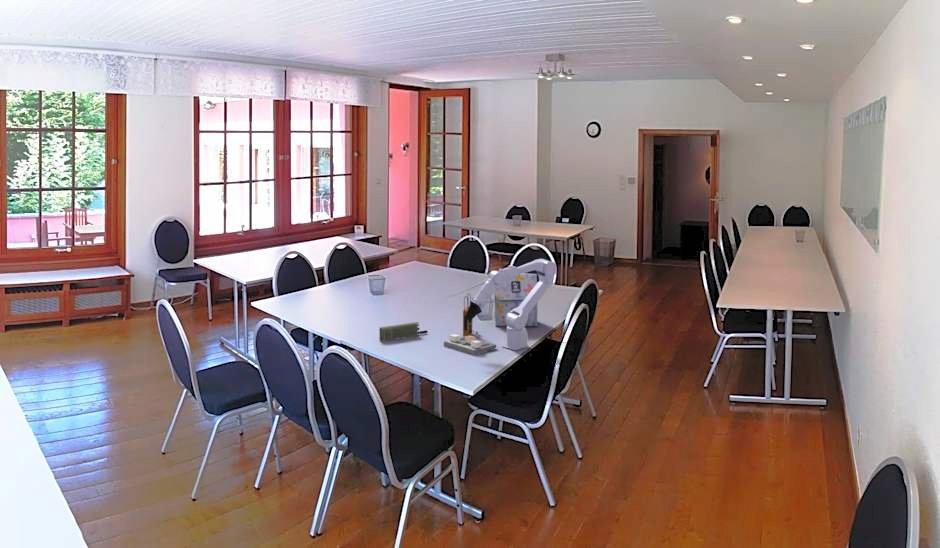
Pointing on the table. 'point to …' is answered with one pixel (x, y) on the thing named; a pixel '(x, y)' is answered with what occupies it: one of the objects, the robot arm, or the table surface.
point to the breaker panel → (469, 346)
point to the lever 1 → (454, 338)
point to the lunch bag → (515, 298)
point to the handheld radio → (400, 331)
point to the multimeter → (467, 324)
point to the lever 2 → (475, 344)
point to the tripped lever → (469, 339)
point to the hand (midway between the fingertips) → (467, 319)
